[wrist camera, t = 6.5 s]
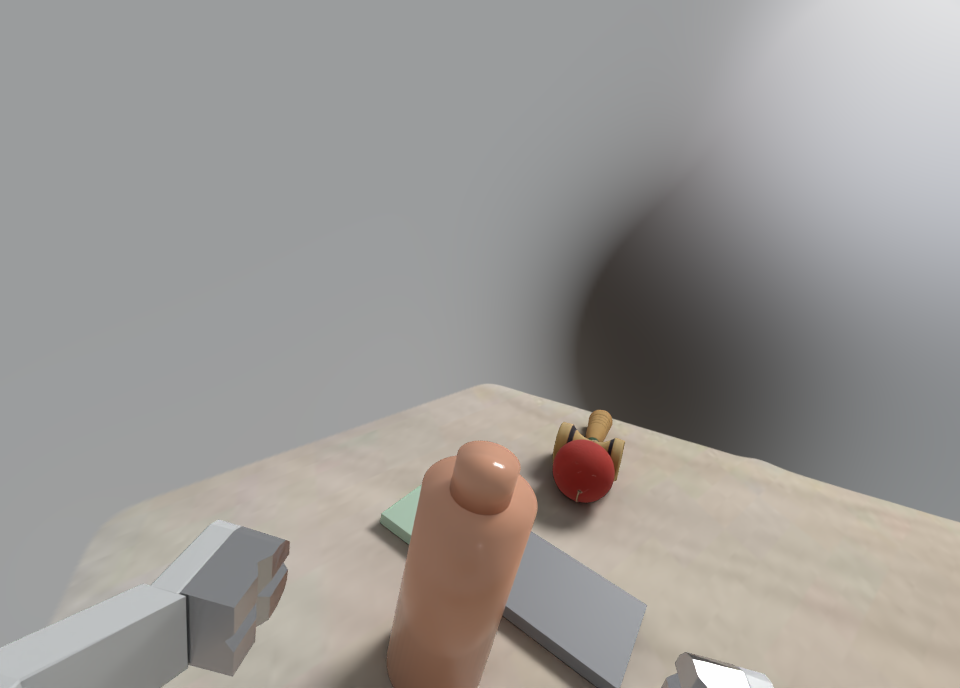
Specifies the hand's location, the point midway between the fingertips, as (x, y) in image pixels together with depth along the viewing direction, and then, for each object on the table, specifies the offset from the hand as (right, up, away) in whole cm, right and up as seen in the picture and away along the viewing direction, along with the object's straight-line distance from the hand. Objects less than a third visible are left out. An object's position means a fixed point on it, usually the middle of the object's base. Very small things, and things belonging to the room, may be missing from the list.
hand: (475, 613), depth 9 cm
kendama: (+12, -8, +42) cm, 44 cm away
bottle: (-3, -14, +18) cm, 23 cm away
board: (+2, -12, +26) cm, 29 cm away
